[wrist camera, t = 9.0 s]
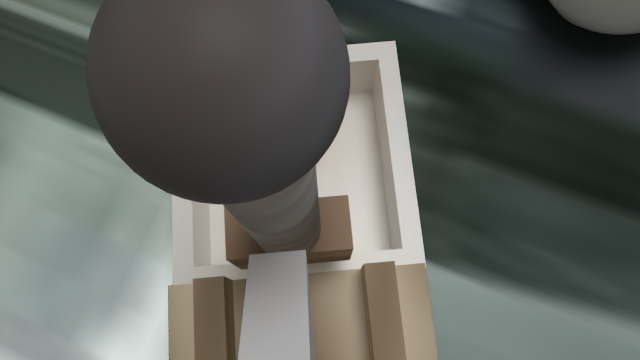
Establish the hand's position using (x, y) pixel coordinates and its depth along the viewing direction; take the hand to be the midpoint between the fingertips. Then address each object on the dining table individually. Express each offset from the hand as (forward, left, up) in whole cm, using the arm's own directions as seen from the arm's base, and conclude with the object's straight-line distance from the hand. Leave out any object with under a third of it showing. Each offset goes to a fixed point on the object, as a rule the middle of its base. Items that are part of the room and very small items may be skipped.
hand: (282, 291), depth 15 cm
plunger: (0, -3, -8) cm, 8 cm away
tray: (0, -7, -15) cm, 17 cm away
